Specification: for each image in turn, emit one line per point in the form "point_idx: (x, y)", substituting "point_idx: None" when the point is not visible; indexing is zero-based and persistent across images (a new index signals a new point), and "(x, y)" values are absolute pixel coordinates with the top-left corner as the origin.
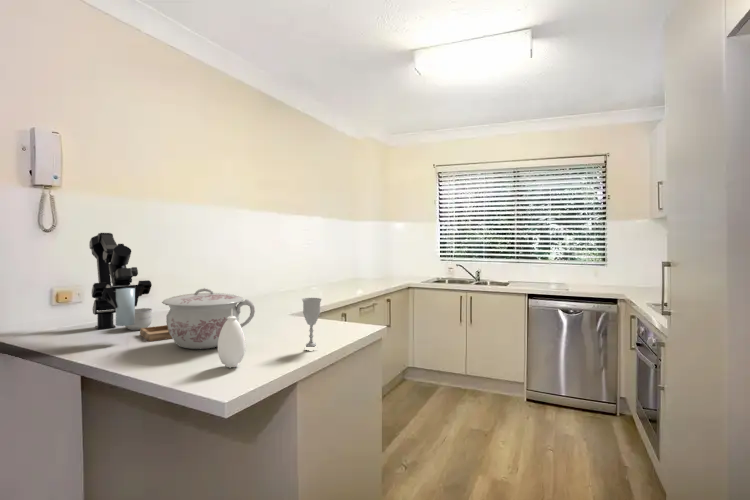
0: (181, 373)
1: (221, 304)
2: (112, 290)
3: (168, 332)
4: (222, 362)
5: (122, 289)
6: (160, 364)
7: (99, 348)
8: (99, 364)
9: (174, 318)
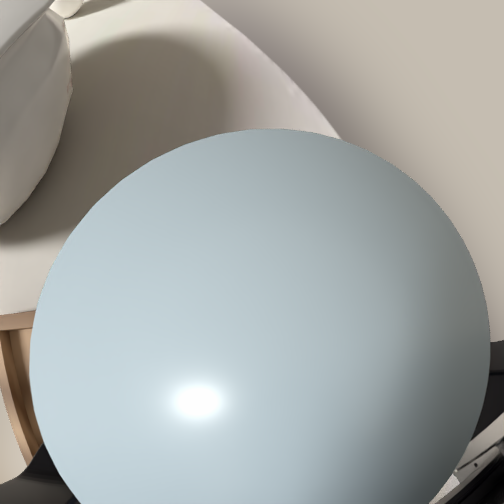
0: (142, 4)
1: None
2: (496, 366)
3: (33, 311)
4: (83, 1)
5: (387, 246)
6: (154, 39)
7: None
8: (281, 84)
9: (63, 19)
